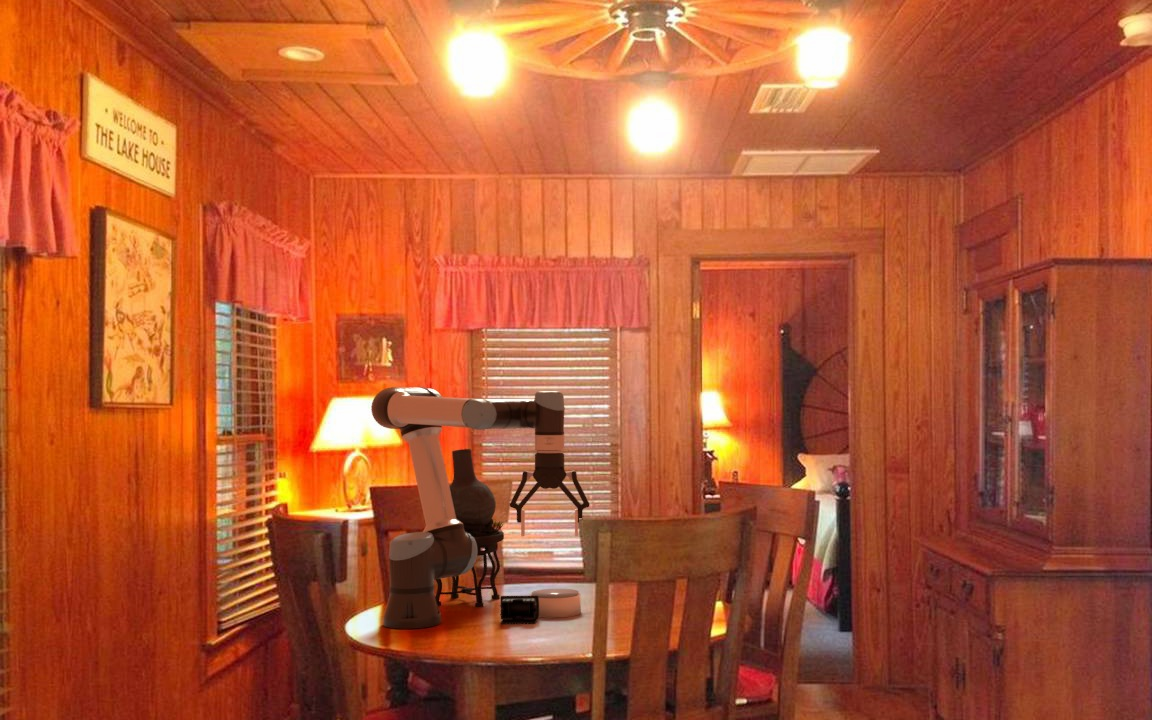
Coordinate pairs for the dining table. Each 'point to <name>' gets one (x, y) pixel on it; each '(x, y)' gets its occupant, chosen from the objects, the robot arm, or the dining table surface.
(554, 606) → the stand
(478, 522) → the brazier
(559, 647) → the dining table surface
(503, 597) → the end cap
